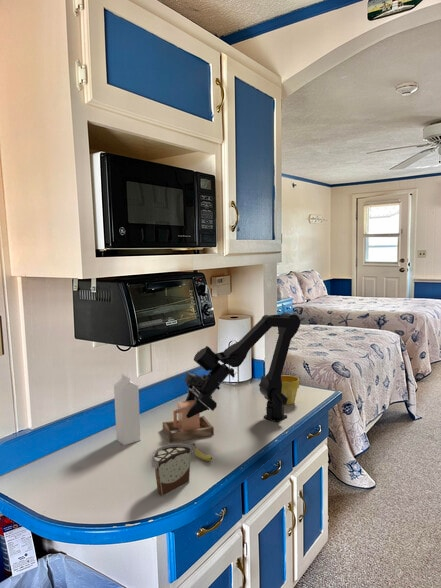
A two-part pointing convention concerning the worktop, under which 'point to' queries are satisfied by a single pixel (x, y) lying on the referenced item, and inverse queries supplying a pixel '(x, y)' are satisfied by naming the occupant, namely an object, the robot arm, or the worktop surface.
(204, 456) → the banana
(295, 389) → the plant pot
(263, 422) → the worktop surface
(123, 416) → the milk
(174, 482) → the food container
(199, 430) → the frame
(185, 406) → the peach box with tab
